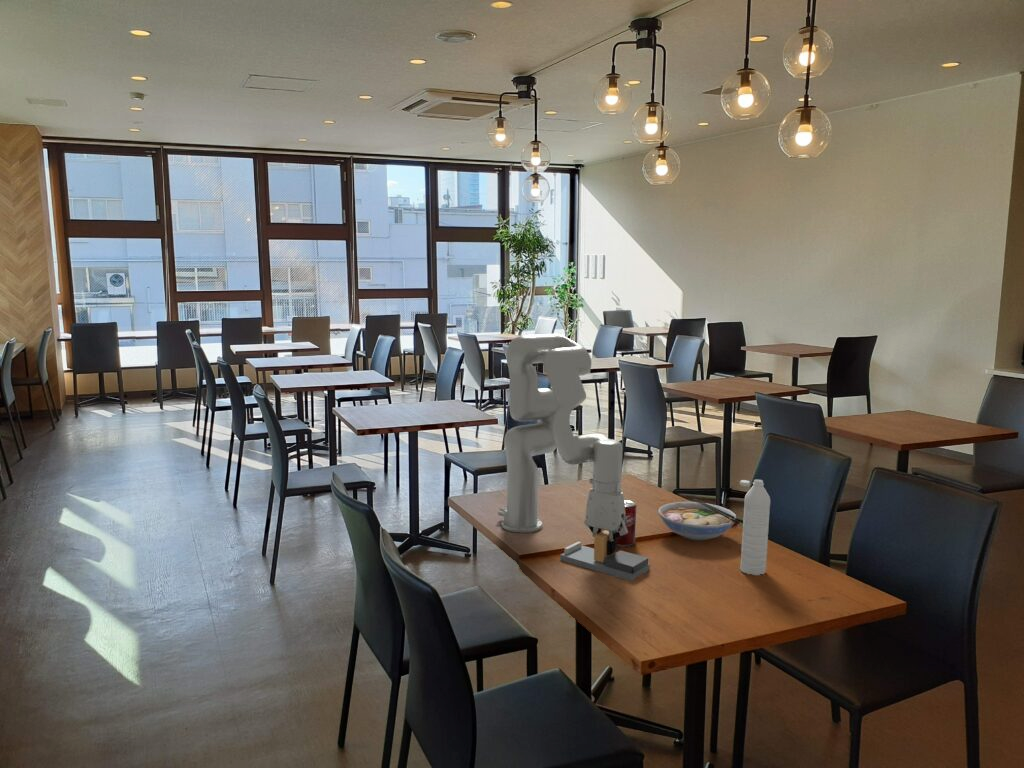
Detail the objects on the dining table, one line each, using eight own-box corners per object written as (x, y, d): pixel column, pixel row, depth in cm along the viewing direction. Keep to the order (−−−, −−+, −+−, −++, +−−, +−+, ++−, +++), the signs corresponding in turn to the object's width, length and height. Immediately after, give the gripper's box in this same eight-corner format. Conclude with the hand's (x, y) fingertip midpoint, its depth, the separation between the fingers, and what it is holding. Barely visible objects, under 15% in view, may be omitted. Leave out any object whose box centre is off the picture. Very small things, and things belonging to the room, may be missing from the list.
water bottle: (755, 565, 211) (761, 475, 207) (770, 574, 205) (777, 482, 201) (728, 568, 208) (733, 478, 204) (742, 578, 202) (748, 485, 198)
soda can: (634, 548, 222) (636, 507, 221) (609, 546, 224) (610, 505, 222) (635, 539, 230) (637, 500, 228) (610, 537, 231) (612, 498, 229)
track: (560, 560, 213) (560, 549, 212) (580, 550, 220) (580, 539, 220) (630, 580, 199) (631, 569, 199) (649, 569, 207) (650, 558, 206)
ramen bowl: (641, 526, 241) (643, 501, 240) (706, 520, 248) (707, 495, 247) (683, 555, 217) (685, 527, 216) (753, 547, 224) (755, 520, 223)
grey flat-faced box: (604, 565, 205) (604, 558, 205) (620, 557, 211) (620, 550, 211) (632, 574, 200) (633, 566, 199) (648, 565, 206) (648, 557, 206)
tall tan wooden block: (593, 560, 208) (594, 535, 207) (605, 553, 213) (606, 529, 212) (632, 571, 201) (633, 545, 200) (643, 564, 205) (644, 539, 204)
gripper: (573, 483, 209) (571, 548, 211) (626, 495, 198) (624, 563, 201) (588, 477, 214) (586, 541, 217) (641, 488, 204) (638, 555, 207)
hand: (604, 551), depth 209 cm, fingers closed on tall tan wooden block, 3 cm apart
